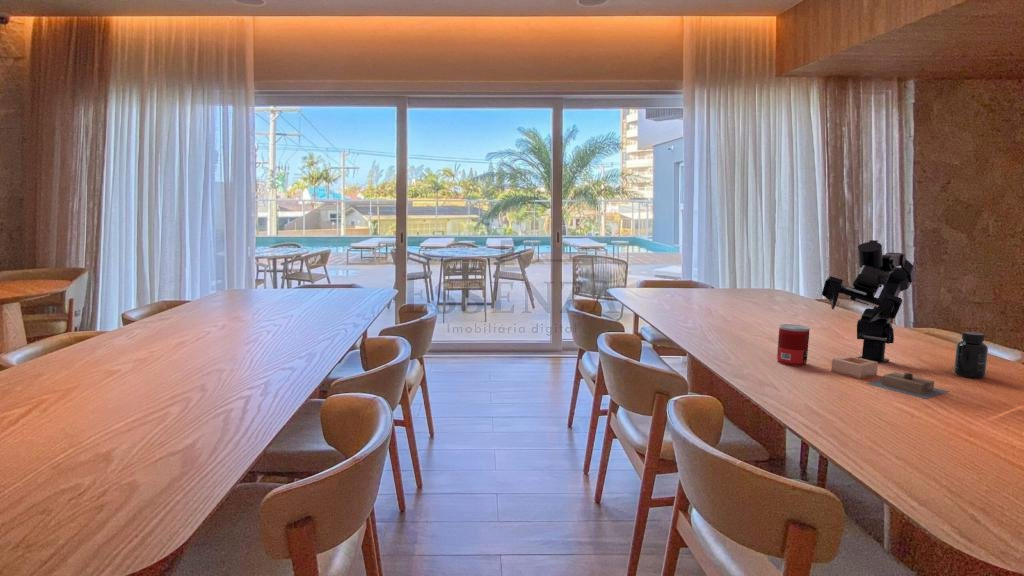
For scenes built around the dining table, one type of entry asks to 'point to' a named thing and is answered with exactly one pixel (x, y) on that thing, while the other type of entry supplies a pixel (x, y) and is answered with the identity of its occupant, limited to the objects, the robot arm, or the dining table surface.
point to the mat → (924, 395)
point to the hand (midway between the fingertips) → (851, 314)
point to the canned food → (793, 344)
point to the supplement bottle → (971, 356)
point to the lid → (908, 382)
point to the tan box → (854, 367)
